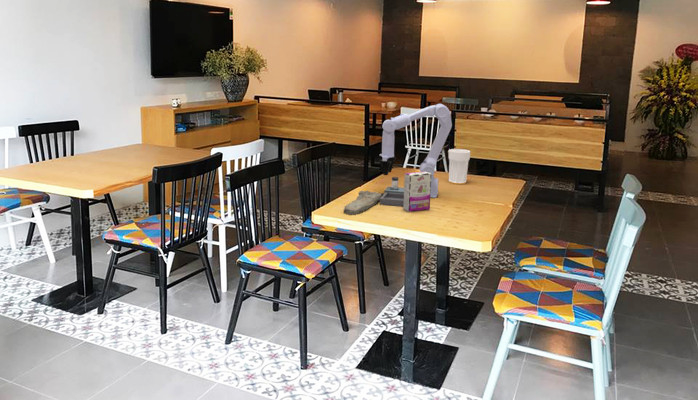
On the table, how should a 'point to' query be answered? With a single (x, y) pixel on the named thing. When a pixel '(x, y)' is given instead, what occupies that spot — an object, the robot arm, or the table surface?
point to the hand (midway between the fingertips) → (387, 173)
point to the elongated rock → (362, 202)
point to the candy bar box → (417, 191)
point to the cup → (458, 165)
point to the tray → (392, 199)
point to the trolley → (388, 190)
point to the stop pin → (394, 183)
